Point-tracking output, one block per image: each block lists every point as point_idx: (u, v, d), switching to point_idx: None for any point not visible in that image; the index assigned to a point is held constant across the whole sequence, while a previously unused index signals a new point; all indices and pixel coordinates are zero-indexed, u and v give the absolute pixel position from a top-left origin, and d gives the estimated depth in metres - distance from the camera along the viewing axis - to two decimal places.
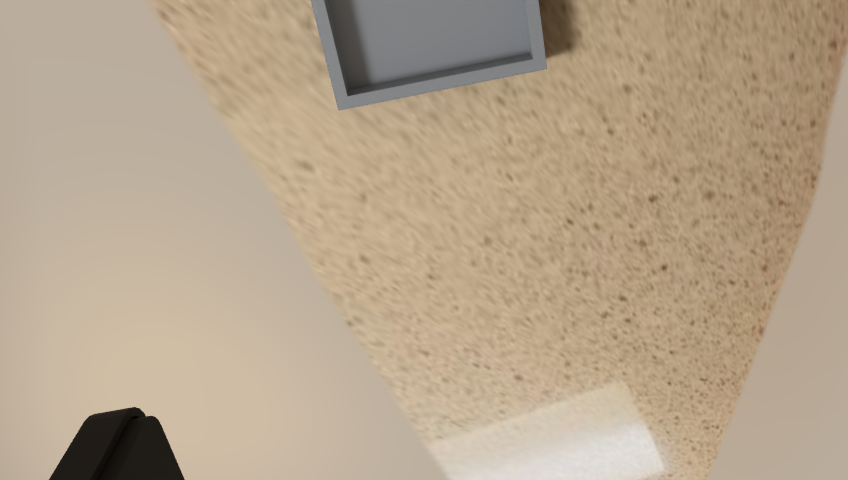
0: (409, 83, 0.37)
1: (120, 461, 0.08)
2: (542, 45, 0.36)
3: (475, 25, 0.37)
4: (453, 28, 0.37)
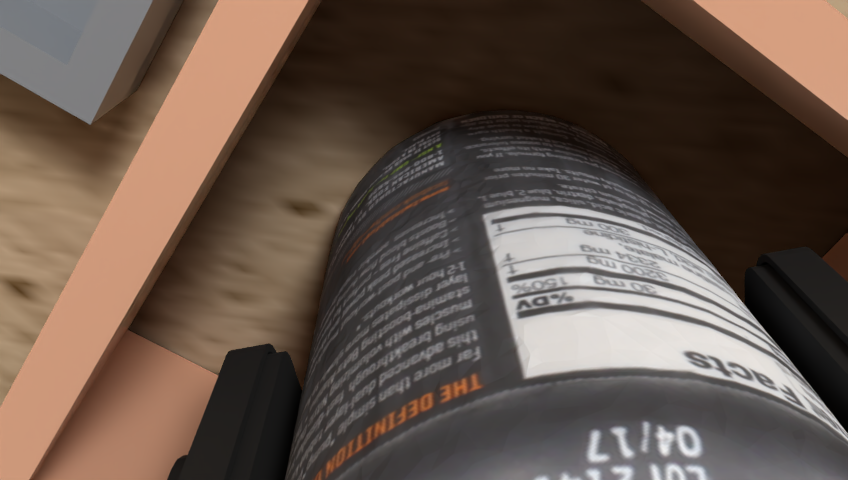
0: None
1: (268, 387, 0.09)
2: None
3: None
4: None
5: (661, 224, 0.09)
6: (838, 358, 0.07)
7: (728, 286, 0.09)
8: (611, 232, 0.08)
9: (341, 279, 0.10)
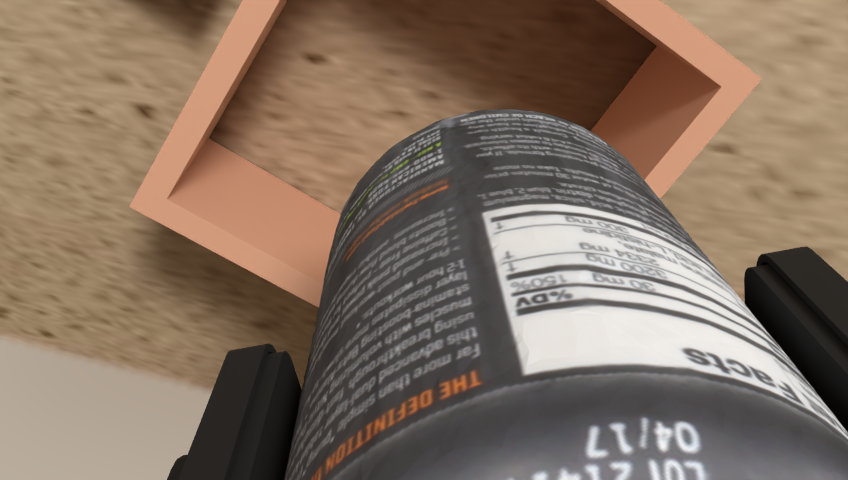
0: None
1: (268, 387, 0.09)
2: None
3: None
4: None
5: (660, 222, 0.09)
6: (838, 358, 0.07)
7: (727, 284, 0.09)
8: (609, 228, 0.08)
9: (341, 277, 0.10)
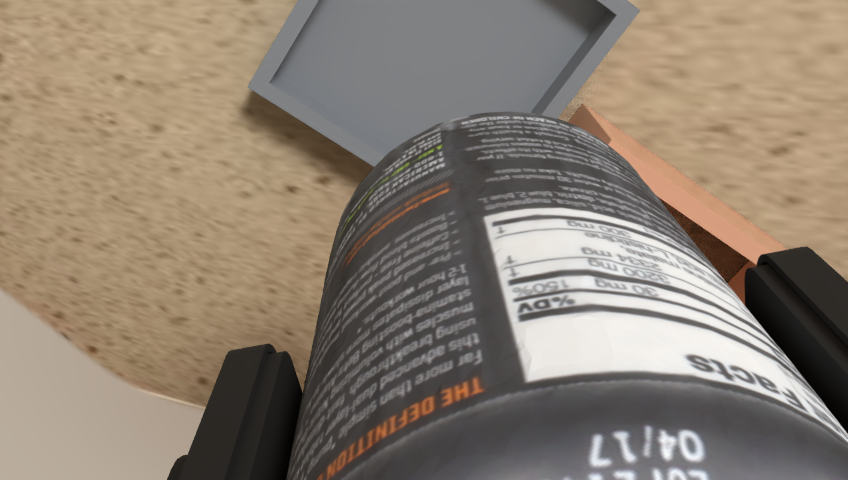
0: None
1: (268, 387, 0.09)
2: (275, 102, 0.29)
3: (348, 50, 0.29)
4: (365, 27, 0.29)
5: (662, 226, 0.09)
6: (838, 358, 0.07)
7: (729, 288, 0.08)
8: (612, 233, 0.08)
9: (342, 281, 0.10)
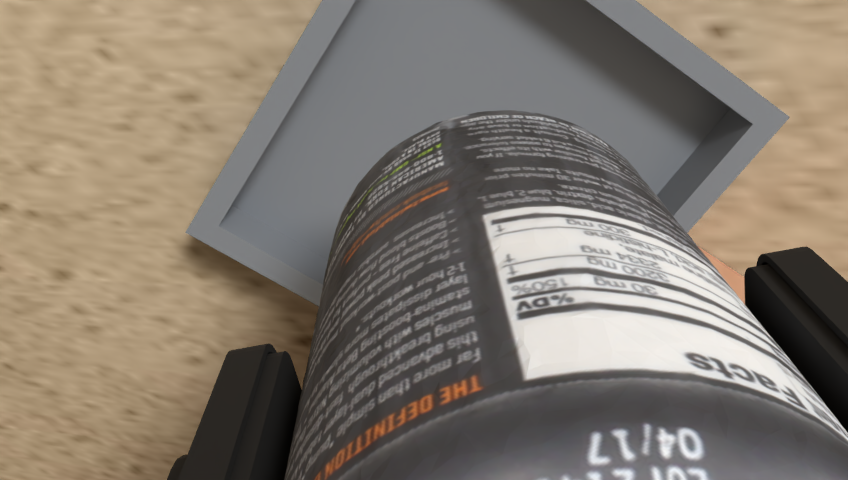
0: (347, 12, 0.17)
1: (268, 387, 0.09)
2: (228, 253, 0.19)
3: (339, 169, 0.20)
4: (364, 137, 0.19)
5: (662, 224, 0.09)
6: (838, 358, 0.07)
7: (729, 287, 0.08)
8: (611, 231, 0.08)
9: (340, 280, 0.10)
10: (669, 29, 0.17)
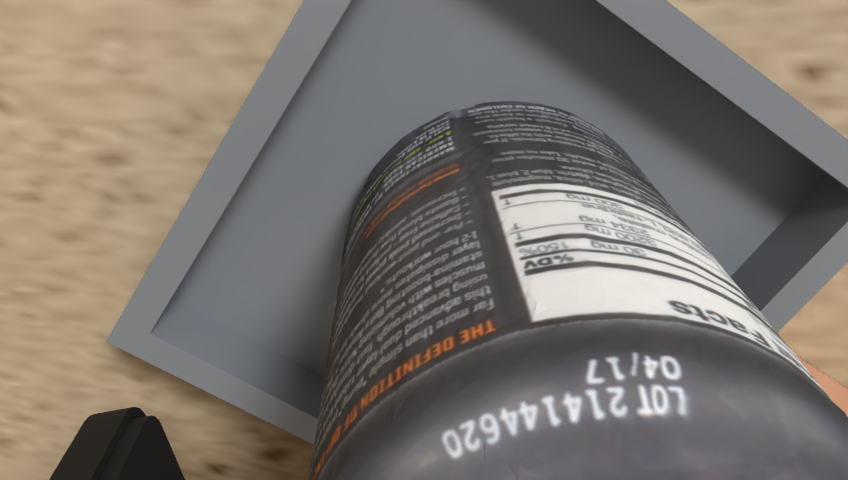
0: (317, 55, 0.12)
1: (120, 461, 0.08)
2: (164, 367, 0.14)
3: (311, 252, 0.15)
4: (344, 212, 0.15)
5: (651, 201, 0.10)
6: None
7: (711, 255, 0.10)
8: (605, 204, 0.09)
9: (362, 252, 0.11)
10: (761, 77, 0.12)
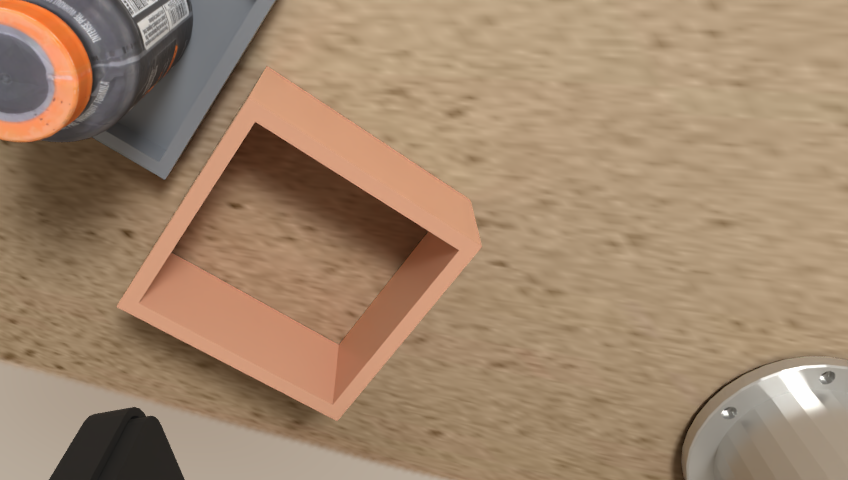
0: None
1: (120, 461, 0.08)
2: None
3: None
4: None
5: None
6: None
7: None
8: None
9: None
10: None
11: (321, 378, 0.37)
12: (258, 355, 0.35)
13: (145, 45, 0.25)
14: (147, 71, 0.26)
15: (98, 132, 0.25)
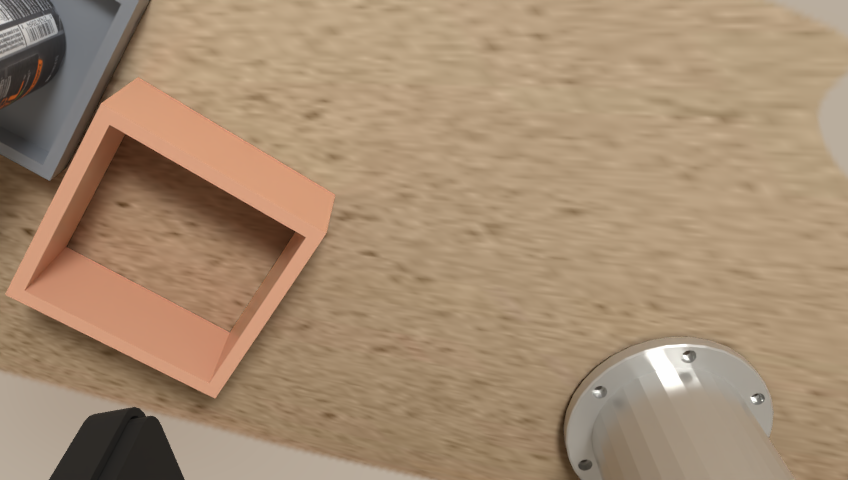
0: None
1: (120, 461, 0.08)
2: None
3: None
4: None
5: None
6: None
7: None
8: None
9: None
10: None
11: (203, 360, 0.41)
12: (140, 338, 0.39)
13: None
14: None
15: None
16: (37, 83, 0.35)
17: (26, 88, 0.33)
